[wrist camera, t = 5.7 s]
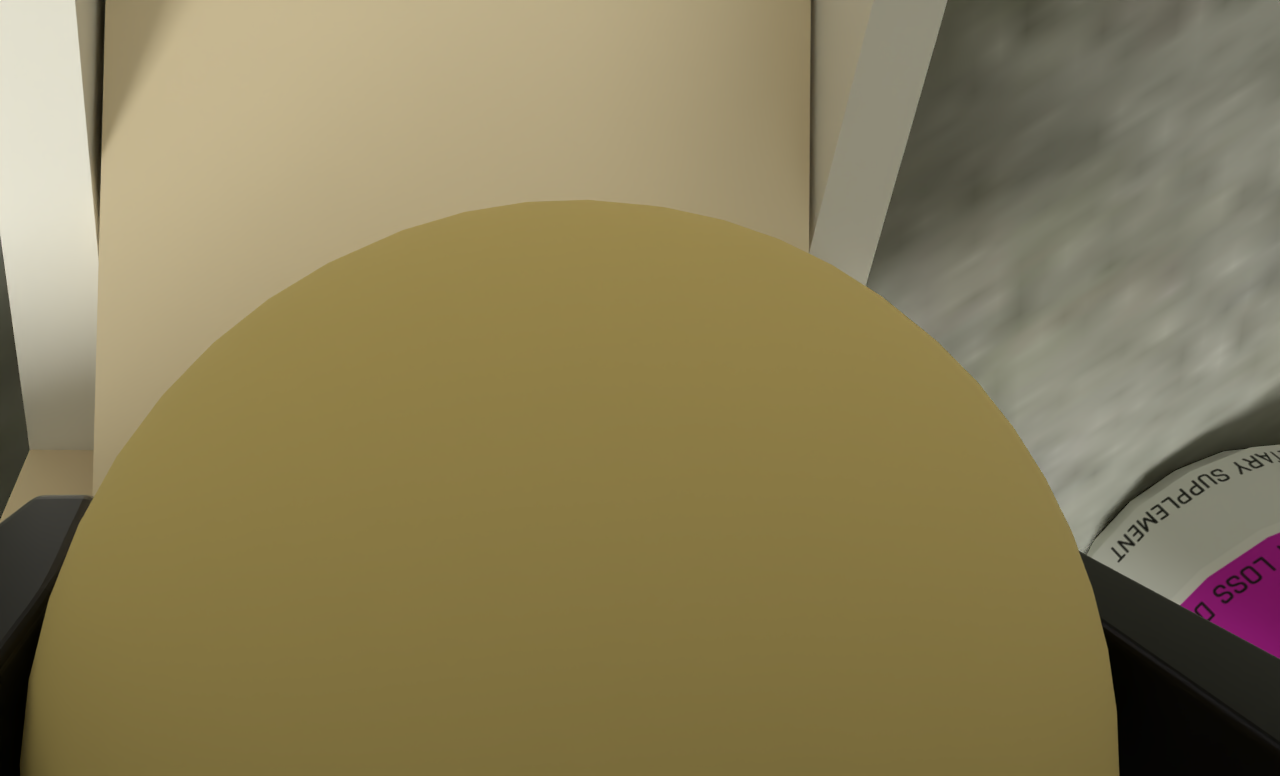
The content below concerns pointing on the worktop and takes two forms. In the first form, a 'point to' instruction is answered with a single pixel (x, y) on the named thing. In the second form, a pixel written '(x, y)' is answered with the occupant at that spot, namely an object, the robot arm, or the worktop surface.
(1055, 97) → the worktop surface
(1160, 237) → the worktop surface
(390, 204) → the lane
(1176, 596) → the supplement can
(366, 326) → the ball
